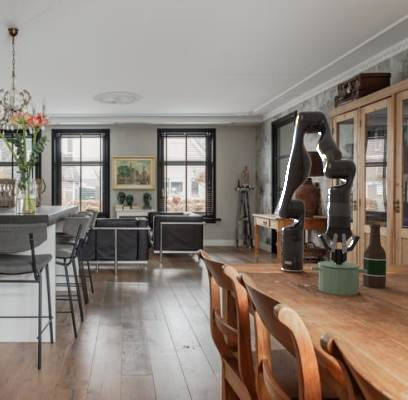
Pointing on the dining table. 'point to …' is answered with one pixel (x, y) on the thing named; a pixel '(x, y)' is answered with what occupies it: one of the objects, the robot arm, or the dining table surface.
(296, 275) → the dining table surface
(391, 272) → the dining table surface
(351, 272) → the pot
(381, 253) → the beer bottle
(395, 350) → the dining table surface
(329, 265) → the lid
